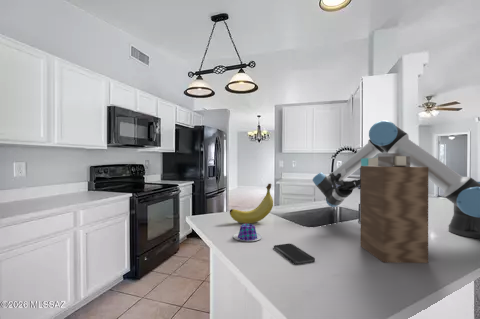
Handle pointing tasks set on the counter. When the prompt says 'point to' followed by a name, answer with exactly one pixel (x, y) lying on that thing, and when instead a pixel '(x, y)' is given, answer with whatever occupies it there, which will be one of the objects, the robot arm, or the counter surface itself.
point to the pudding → (247, 233)
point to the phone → (294, 254)
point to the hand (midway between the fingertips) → (360, 171)
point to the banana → (257, 212)
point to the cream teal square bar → (374, 161)
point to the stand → (395, 210)
